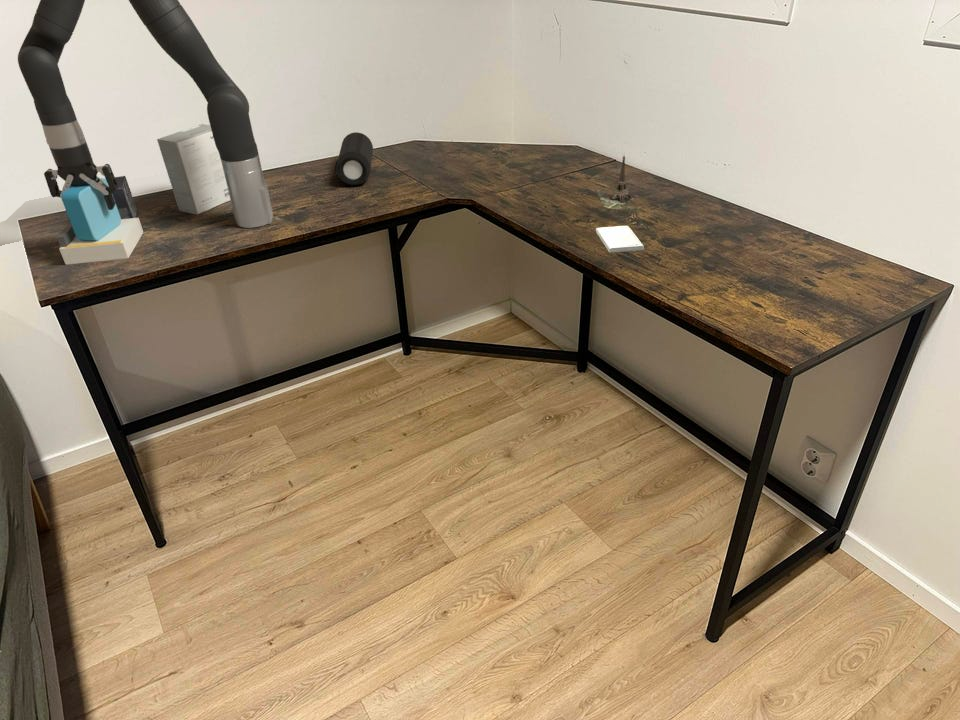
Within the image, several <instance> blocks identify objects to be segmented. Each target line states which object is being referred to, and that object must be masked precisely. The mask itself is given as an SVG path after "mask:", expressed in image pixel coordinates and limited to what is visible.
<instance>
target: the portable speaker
mask: <svg viewBox="0 0 960 720" xmlns="http://www.w3.org/2000/svg"><path fill="white" fill-rule="evenodd" d="M373 154H374V146H373V143H372V141H371V139H370V138H369V137H368V136H367V135H366V134H364V133H361V132H358V131H357V132H355V131H354V132H351V133H348V134H346V136H345V137H343V141H342V142H341V145H340V150H339V154H338V157H337V161H336V163H335V170H336V174H337V177H339V179H340V180H341V181H342V182H343V183H345V184H347V185H349V186H358V185H362V184H363V183H365V182H366V181H367V180H368V178H369V177H370V174H371V169H372V164H373V163H372V162H373V161H372V160H373Z"/></svg>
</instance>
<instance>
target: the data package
mask: <svg viewBox="0 0 960 720" xmlns="http://www.w3.org/2000/svg"><path fill="white" fill-rule="evenodd" d="M99 178H100V179H101V180H102V181H103V182H104V183H105V184H106V185H107V186H108V183H107V181H106V178H105V177H99ZM112 195H113V194H112ZM61 198H62V199H61ZM61 198H60V199H61V201H62V204H63V206H64V208H65V209H64V210H65V212H66V215H67V217H68V219H69V222H71V224H72V227H73V229H74V232H75V234H76V237H77V238H78V239H79V240H91V241H98V240H100V239H101V238H103V237H104V236H105V235H107V234H108V233H109V232H111V231H112V230H113V229H115V228H116V227H118V226H119V225H120V223H121V217H120V215H119V212H118V209H117V206H116V203H115V206H114V208H113V210H108V207H107V204H106V202H105V199H104V194H103V193H102V192H100V191H99V190H98V189H95V188H94V187H92V186H91V185H89V186H77V187H73V186H72V187H70V188H69V189H67V190H65V191H64V192H63V193H62V196H61ZM113 198H114V197H113ZM114 201H115V200H114Z"/></svg>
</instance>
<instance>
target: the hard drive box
mask: <svg viewBox="0 0 960 720" xmlns="http://www.w3.org/2000/svg"><path fill="white" fill-rule="evenodd" d="M156 141H157V145H158V146H159V147H158V148H159V150H160V154H161V156H162V160H163V163H164V166H165V170H166V173H167V175H168V179H169V182H170V184H171V185H170V186H171V188H172V191H173V195H174V199H175V202H176V205H177V207H178V210H179V212H183V213H186V214H187V213H188V214H192V215H195V216H196V215H199V214H201V213H205V212H207V211H209V210H211V209H213V208H215V207H218V206H220V205H222V204H225V203H227V202H231V199H230V195H229V191H228V187H227V183H226V179H225V175H224V171H223V167H222V163H221V159H220V155H219V152H218V150H217V148H216V145H215V141H214V137H213V134H212V130H211V126H210V124H204V123H201V124H198V125H195V126H192V127H189V128H185V129H182V130H180V131H178V132H173V133H172V134H169V135H166V136H162V137H160V138H157V139H156Z"/></svg>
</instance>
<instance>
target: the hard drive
mask: <svg viewBox="0 0 960 720" xmlns="http://www.w3.org/2000/svg"><path fill="white" fill-rule="evenodd" d="M595 232H596V234H597V236H598V238H600V239H599V240H601V242H602V244H603V245H604V246H605V248H606V250H607V252H608V253H621V252H622V253H624V252H634V251H635V252H636V251H637V252H638V251H644V250H645V246H644V244H643V243H642V242H641V241H640V240H639V238H638V237H637V235H636V234H635V233H634V232H633V230H632V228H630V227H629V225H617V226H605V227H596V228H595Z"/></svg>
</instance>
